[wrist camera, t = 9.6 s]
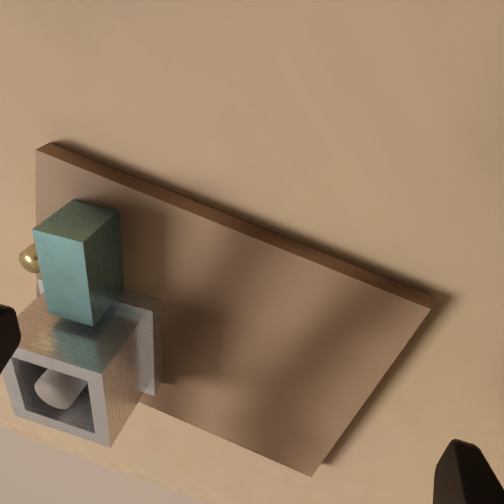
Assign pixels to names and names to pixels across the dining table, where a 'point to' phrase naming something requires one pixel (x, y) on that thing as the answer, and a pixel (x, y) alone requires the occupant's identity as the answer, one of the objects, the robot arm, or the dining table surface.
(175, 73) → the dining table surface
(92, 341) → the grey piece
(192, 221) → the post board
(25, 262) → the dowel pin
